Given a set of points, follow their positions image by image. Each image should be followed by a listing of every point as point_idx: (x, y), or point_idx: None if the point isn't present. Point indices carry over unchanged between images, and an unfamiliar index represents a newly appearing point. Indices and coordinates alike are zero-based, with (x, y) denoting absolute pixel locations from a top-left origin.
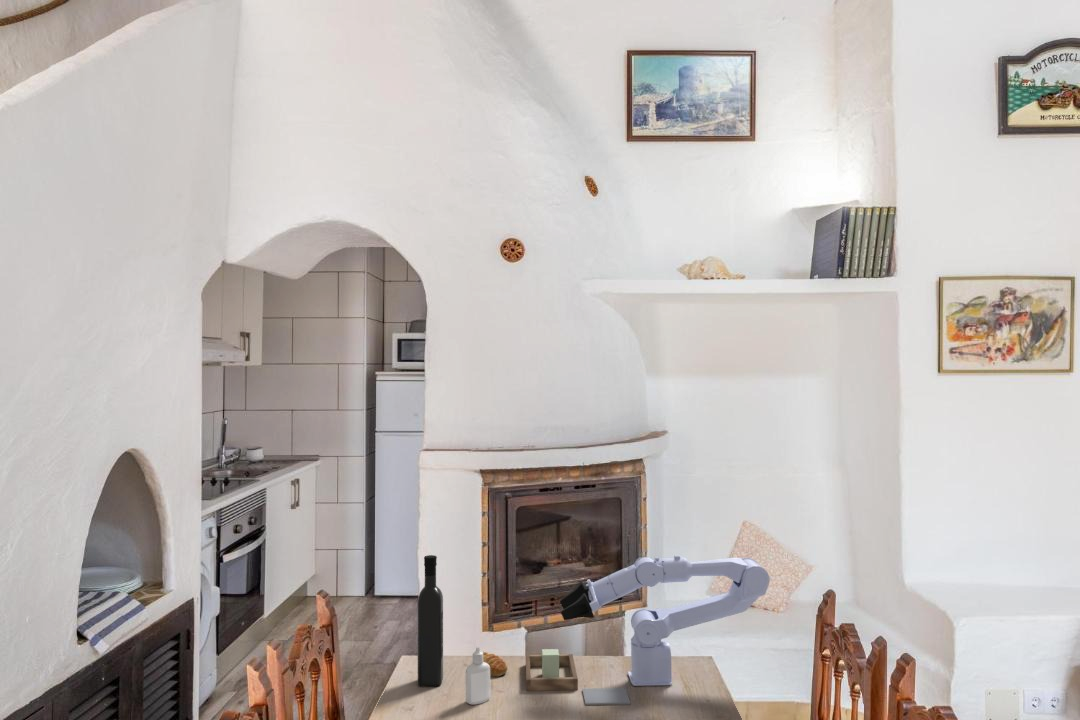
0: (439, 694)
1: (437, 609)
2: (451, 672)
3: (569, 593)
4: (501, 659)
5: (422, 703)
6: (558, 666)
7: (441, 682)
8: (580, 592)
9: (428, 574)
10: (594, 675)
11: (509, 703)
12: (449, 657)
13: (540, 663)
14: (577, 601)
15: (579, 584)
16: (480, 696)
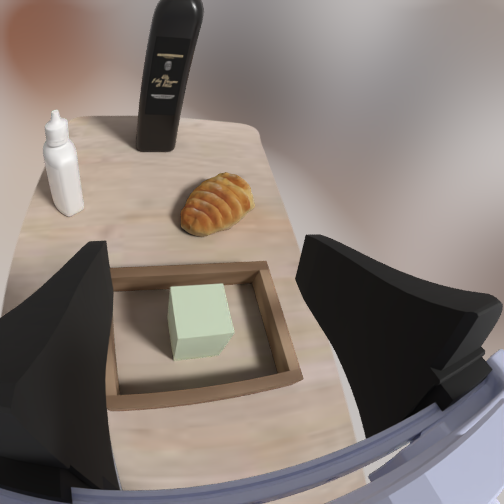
0: (106, 153)
1: (151, 26)
2: (198, 161)
3: (375, 261)
4: (226, 214)
5: (80, 142)
6: (175, 348)
7: (142, 149)
8: (402, 342)
9: None
10: (223, 454)
11: (45, 251)
12: (263, 159)
13: (261, 304)
14: (17, 322)
15: (465, 299)
16: (52, 195)
